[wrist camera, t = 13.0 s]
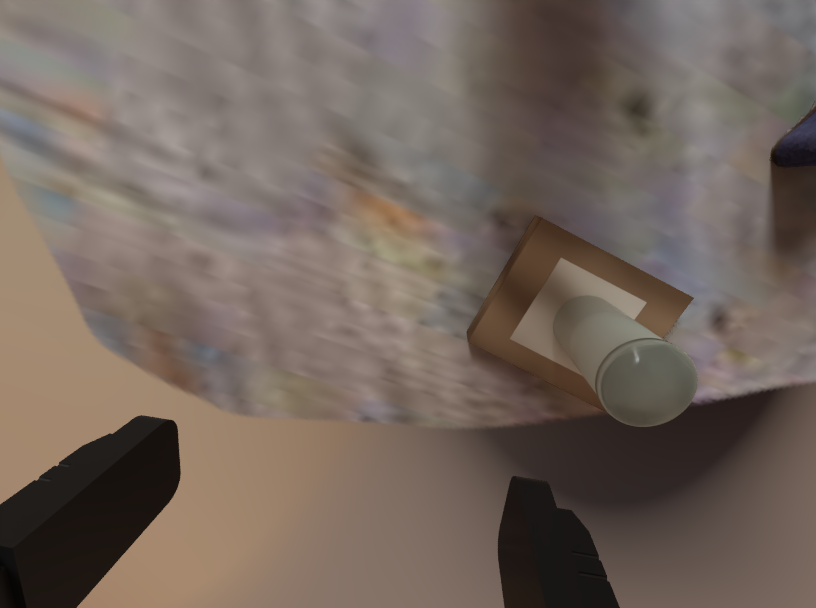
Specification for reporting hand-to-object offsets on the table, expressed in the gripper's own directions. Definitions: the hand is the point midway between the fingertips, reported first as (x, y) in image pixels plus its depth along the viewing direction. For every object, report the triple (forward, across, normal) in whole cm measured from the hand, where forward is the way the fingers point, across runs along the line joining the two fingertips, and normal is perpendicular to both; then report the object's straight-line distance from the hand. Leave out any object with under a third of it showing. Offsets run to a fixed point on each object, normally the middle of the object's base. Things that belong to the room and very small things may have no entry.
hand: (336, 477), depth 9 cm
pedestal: (+28, -14, +3) cm, 31 cm away
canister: (+25, -15, +3) cm, 29 cm away
